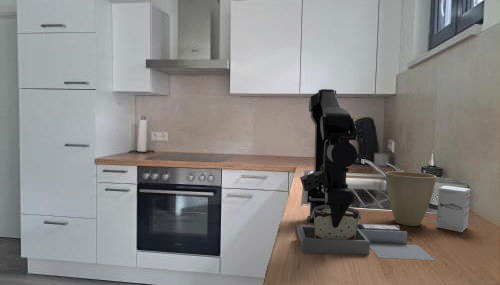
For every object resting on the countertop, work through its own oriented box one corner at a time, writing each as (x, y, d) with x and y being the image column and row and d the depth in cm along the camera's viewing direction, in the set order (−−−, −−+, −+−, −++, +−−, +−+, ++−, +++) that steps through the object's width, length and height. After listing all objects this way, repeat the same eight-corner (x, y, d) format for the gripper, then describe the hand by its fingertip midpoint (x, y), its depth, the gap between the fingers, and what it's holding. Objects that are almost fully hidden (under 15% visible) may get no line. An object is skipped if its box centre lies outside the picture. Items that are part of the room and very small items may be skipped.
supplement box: (435, 227, 108) (438, 187, 107) (442, 223, 113) (444, 184, 113) (463, 233, 103) (465, 191, 102) (468, 228, 108) (471, 188, 108)
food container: (351, 241, 92) (353, 204, 91) (359, 251, 86) (361, 211, 85) (305, 241, 92) (306, 203, 91) (310, 250, 86) (311, 210, 85)
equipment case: (295, 227, 105) (296, 215, 105) (348, 229, 104) (349, 217, 104) (302, 252, 84) (303, 238, 84) (369, 255, 83) (369, 241, 83)
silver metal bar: (361, 235, 96) (361, 224, 96) (394, 237, 96) (395, 225, 95) (364, 239, 93) (365, 227, 93) (398, 241, 92) (399, 229, 92)
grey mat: (366, 244, 91) (366, 242, 91) (417, 246, 90) (417, 245, 90) (378, 259, 81) (378, 257, 81) (435, 261, 80) (435, 260, 80)
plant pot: (444, 228, 107) (447, 177, 106) (401, 230, 104) (404, 177, 103) (412, 216, 122) (415, 170, 121) (374, 217, 119) (376, 170, 118)
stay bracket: (354, 236, 98) (355, 223, 97) (398, 238, 97) (398, 225, 97) (360, 243, 92) (360, 230, 91) (406, 245, 91) (407, 232, 91)
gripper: (299, 157, 97) (297, 212, 98) (306, 165, 78) (304, 233, 79) (339, 158, 96) (337, 214, 97) (356, 167, 78) (353, 235, 79)
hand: (332, 223), depth 88 cm, fingers closed on food container, 6 cm apart
